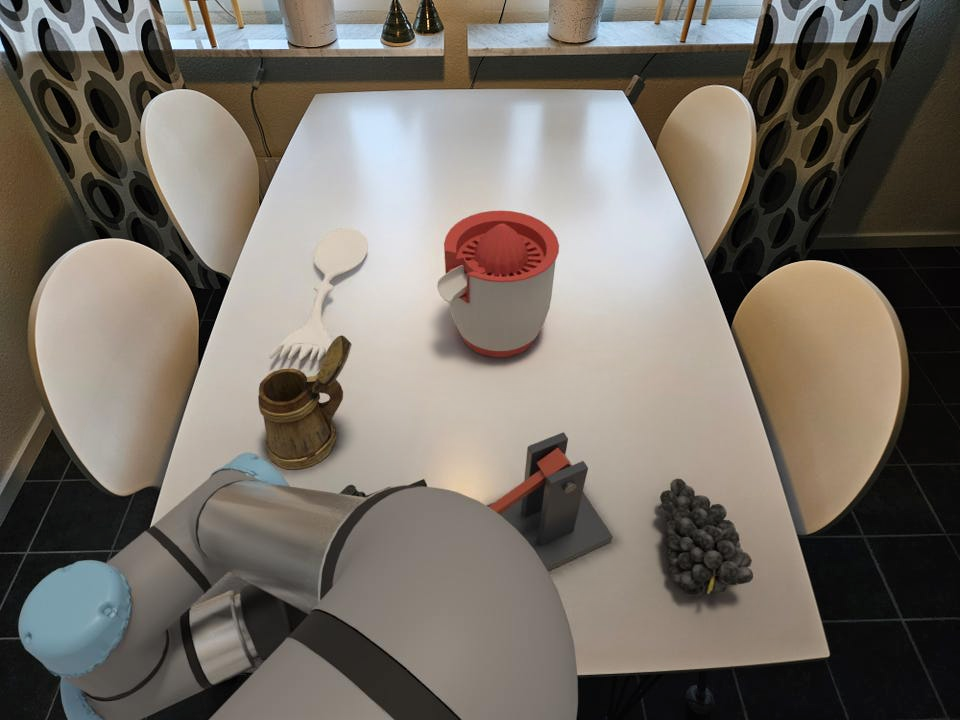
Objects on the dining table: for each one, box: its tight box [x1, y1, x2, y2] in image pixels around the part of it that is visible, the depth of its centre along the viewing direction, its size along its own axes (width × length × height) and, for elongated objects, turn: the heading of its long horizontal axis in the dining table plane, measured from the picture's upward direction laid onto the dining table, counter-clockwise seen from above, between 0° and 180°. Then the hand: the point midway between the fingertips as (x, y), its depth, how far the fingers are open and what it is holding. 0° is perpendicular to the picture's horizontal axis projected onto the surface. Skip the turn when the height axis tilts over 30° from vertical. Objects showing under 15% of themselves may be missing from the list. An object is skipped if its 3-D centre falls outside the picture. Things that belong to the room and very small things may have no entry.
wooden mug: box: [257, 334, 352, 470], centre depth 79 cm, size 9×14×18 cm, turn 97°
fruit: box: [659, 478, 754, 597], centre depth 73 cm, size 9×8×15 cm
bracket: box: [486, 431, 614, 572], centre depth 72 cm, size 12×10×15 cm
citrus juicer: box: [436, 210, 560, 358], centre depth 92 cm, size 16×17×20 cm
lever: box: [489, 448, 573, 515], centre depth 68 cm, size 14×6×2 cm
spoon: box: [268, 227, 369, 362], centre depth 104 cm, size 9×32×4 cm, turn 175°
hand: (450, 537), depth 69 cm, fingers open, 13 cm apart
